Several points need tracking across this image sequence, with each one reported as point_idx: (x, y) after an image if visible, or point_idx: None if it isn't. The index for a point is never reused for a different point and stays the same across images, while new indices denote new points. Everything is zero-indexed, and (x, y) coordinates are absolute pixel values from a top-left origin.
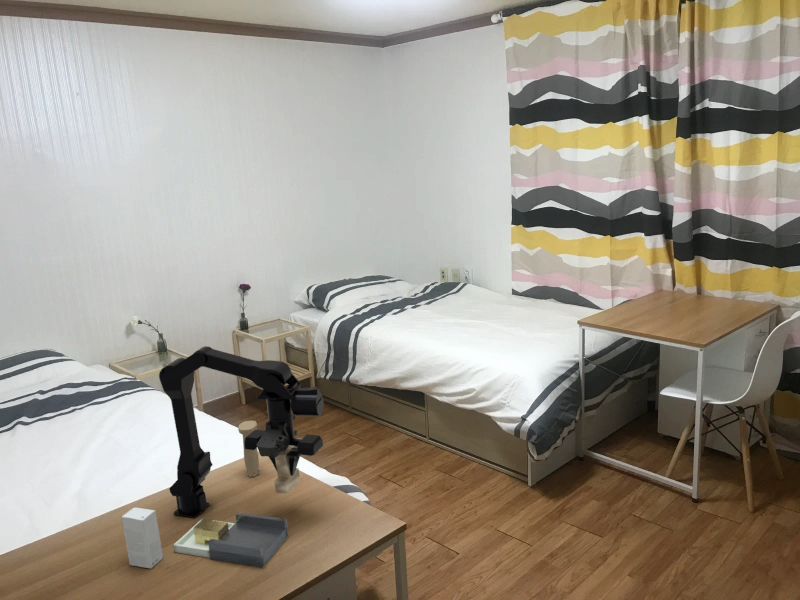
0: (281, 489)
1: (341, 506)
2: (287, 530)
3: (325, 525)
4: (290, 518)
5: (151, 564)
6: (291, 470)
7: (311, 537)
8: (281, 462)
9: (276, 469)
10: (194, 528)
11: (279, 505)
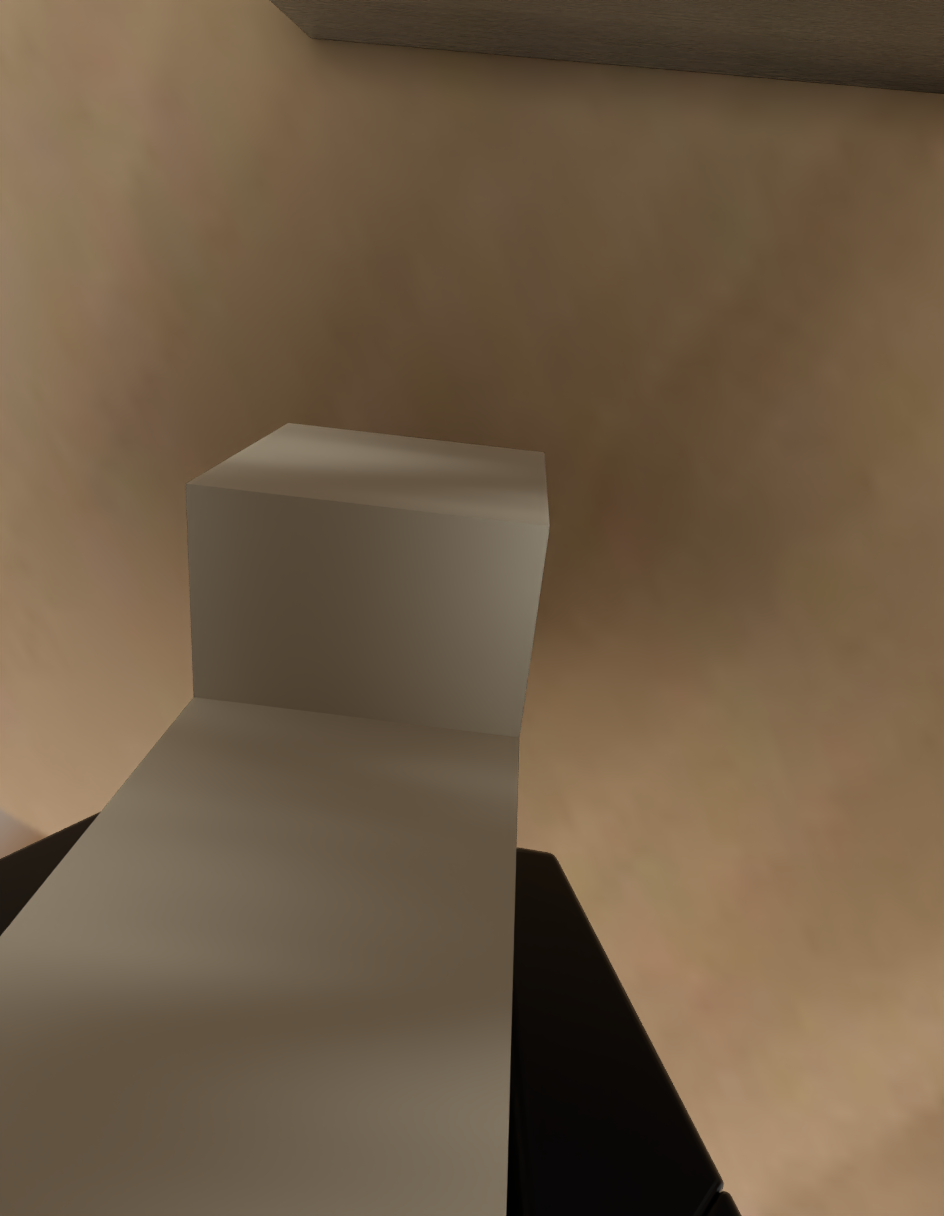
0: (391, 454)
1: (27, 696)
2: (280, 4)
3: (3, 346)
4: None
5: None
6: (37, 868)
7: (27, 65)
8: (161, 1162)
9: (576, 946)
10: None
11: (666, 687)
